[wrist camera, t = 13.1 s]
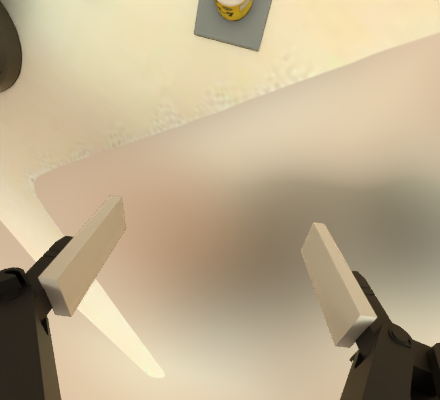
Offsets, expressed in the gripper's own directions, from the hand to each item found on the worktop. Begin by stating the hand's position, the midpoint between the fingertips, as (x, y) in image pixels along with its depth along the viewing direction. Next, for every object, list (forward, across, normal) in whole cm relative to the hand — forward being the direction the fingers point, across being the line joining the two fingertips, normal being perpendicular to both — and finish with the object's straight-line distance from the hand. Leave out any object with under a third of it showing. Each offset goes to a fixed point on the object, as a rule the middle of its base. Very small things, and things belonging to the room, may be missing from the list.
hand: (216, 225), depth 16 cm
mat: (+26, -1, +16) cm, 31 cm away
